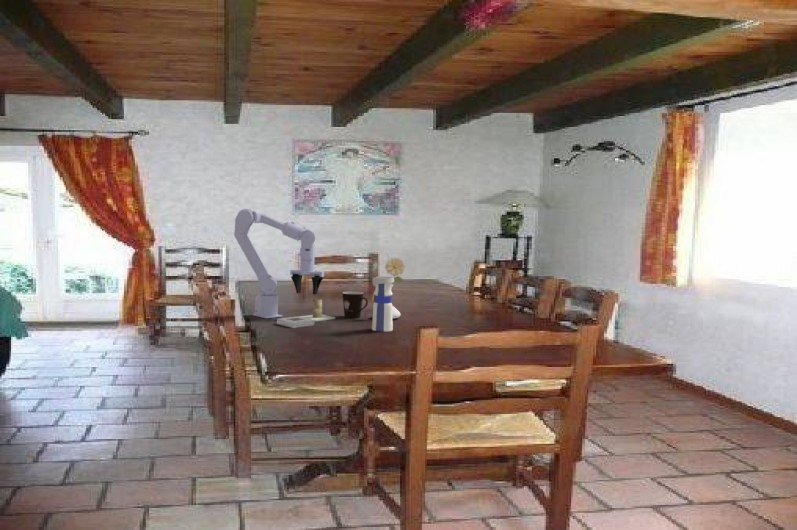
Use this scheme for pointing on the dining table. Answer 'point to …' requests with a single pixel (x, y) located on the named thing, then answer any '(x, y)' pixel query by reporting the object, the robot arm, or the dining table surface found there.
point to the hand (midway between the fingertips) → (306, 293)
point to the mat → (319, 318)
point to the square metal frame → (295, 322)
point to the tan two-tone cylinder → (317, 308)
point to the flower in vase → (395, 268)
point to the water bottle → (382, 303)
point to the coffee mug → (353, 304)
